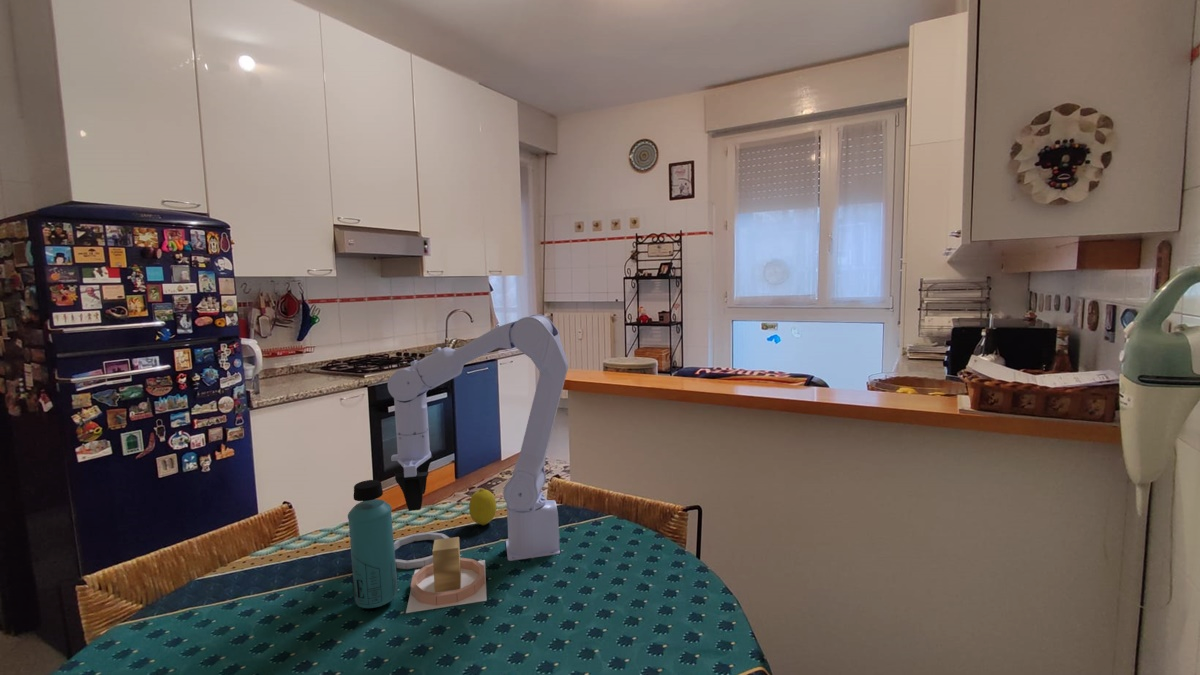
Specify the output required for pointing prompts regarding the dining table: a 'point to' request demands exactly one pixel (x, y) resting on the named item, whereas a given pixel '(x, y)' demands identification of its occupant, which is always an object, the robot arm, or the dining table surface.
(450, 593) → the ring
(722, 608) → the dining table surface
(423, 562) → the ring
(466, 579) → the card
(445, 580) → the ochre block
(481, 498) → the lemon
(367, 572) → the beverage bottle
